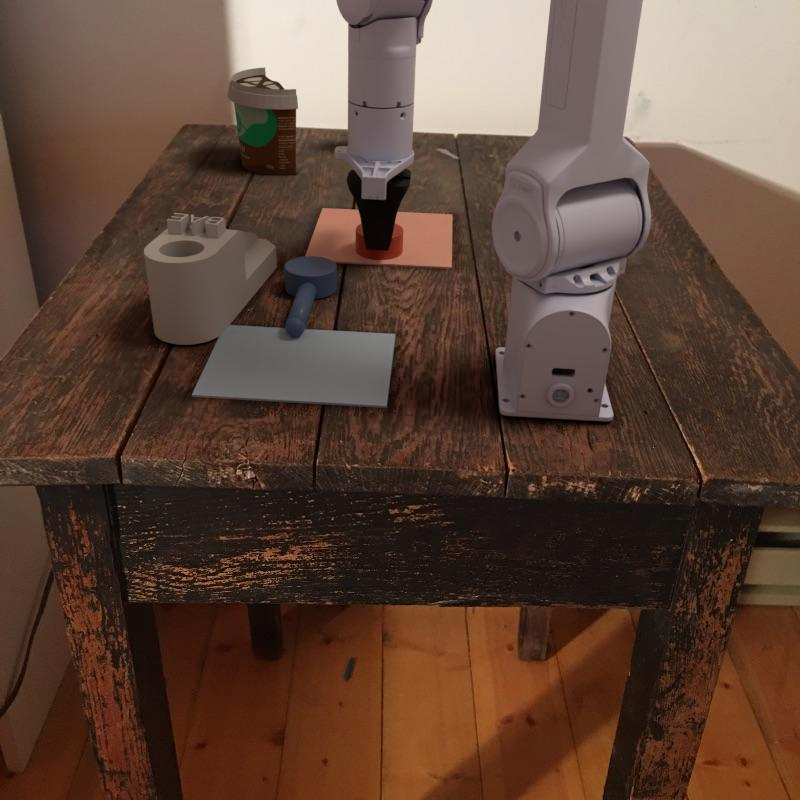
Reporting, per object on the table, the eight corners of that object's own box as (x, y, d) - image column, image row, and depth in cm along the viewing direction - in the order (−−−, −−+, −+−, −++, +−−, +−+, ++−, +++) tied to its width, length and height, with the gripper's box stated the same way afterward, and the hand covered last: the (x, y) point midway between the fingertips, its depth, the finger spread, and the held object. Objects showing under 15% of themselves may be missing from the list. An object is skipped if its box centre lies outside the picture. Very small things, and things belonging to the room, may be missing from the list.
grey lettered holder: (281, 261, 86) (277, 178, 82) (210, 348, 71) (201, 251, 67) (224, 255, 87) (217, 173, 83) (142, 340, 72) (128, 244, 68)
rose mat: (451, 269, 86) (451, 267, 86) (303, 261, 87) (303, 259, 87) (452, 216, 98) (452, 214, 98) (322, 209, 99) (322, 207, 98)
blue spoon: (289, 277, 84) (288, 254, 82) (339, 279, 83) (339, 257, 82) (265, 338, 73) (263, 313, 72) (322, 341, 73) (322, 316, 72)
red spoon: (401, 261, 87) (402, 239, 86) (353, 259, 87) (353, 237, 86) (405, 214, 98) (406, 194, 96) (362, 212, 98) (362, 192, 96)
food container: (219, 152, 114) (213, 69, 109) (267, 148, 117) (263, 66, 111) (249, 183, 105) (244, 94, 100) (300, 177, 107) (297, 90, 102)
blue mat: (386, 408, 65) (386, 405, 65) (191, 397, 66) (191, 394, 66) (395, 336, 75) (395, 333, 74) (224, 326, 75) (224, 324, 75)
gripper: (343, 79, 85) (343, 218, 92) (324, 120, 73) (326, 277, 80) (419, 82, 85) (413, 222, 92) (413, 124, 73) (406, 281, 80)
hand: (377, 248), depth 86 cm, fingers closed, pressing on red spoon
